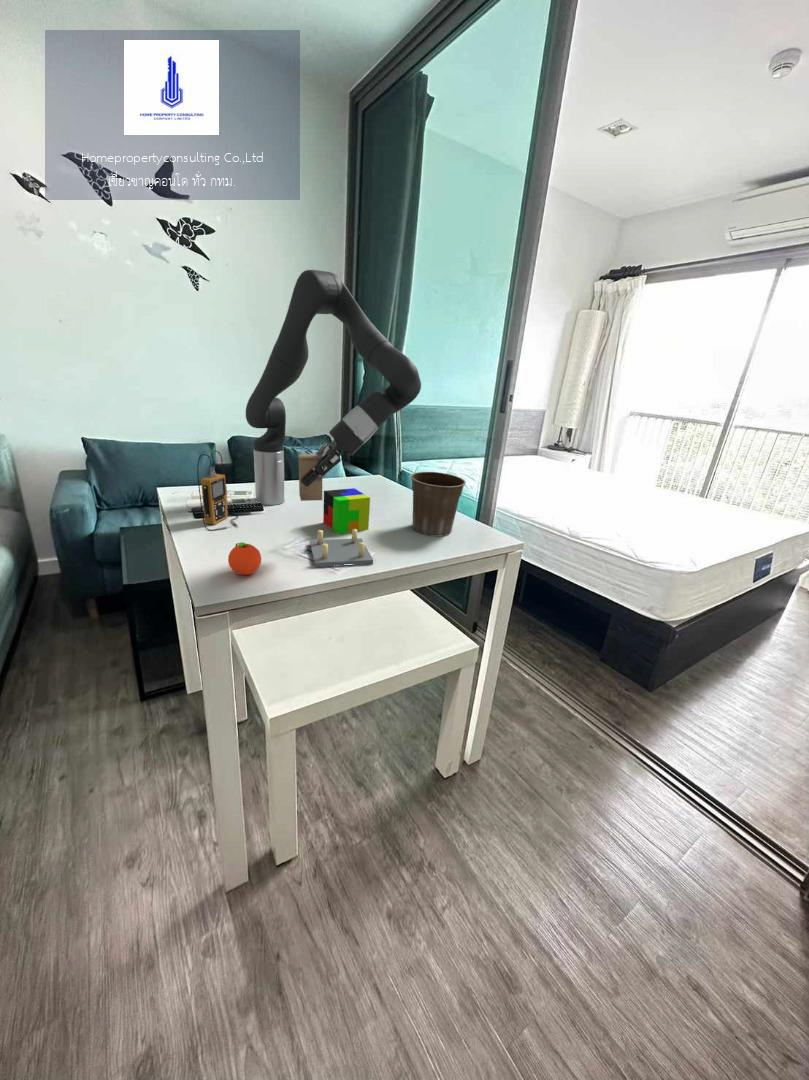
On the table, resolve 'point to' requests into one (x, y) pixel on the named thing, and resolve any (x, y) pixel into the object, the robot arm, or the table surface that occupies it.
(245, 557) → the clementine
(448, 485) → the plant pot
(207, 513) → the multimeter
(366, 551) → the pin plate
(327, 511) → the puzzle toy
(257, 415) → the robot arm
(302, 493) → the walnut block
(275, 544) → the table surface
